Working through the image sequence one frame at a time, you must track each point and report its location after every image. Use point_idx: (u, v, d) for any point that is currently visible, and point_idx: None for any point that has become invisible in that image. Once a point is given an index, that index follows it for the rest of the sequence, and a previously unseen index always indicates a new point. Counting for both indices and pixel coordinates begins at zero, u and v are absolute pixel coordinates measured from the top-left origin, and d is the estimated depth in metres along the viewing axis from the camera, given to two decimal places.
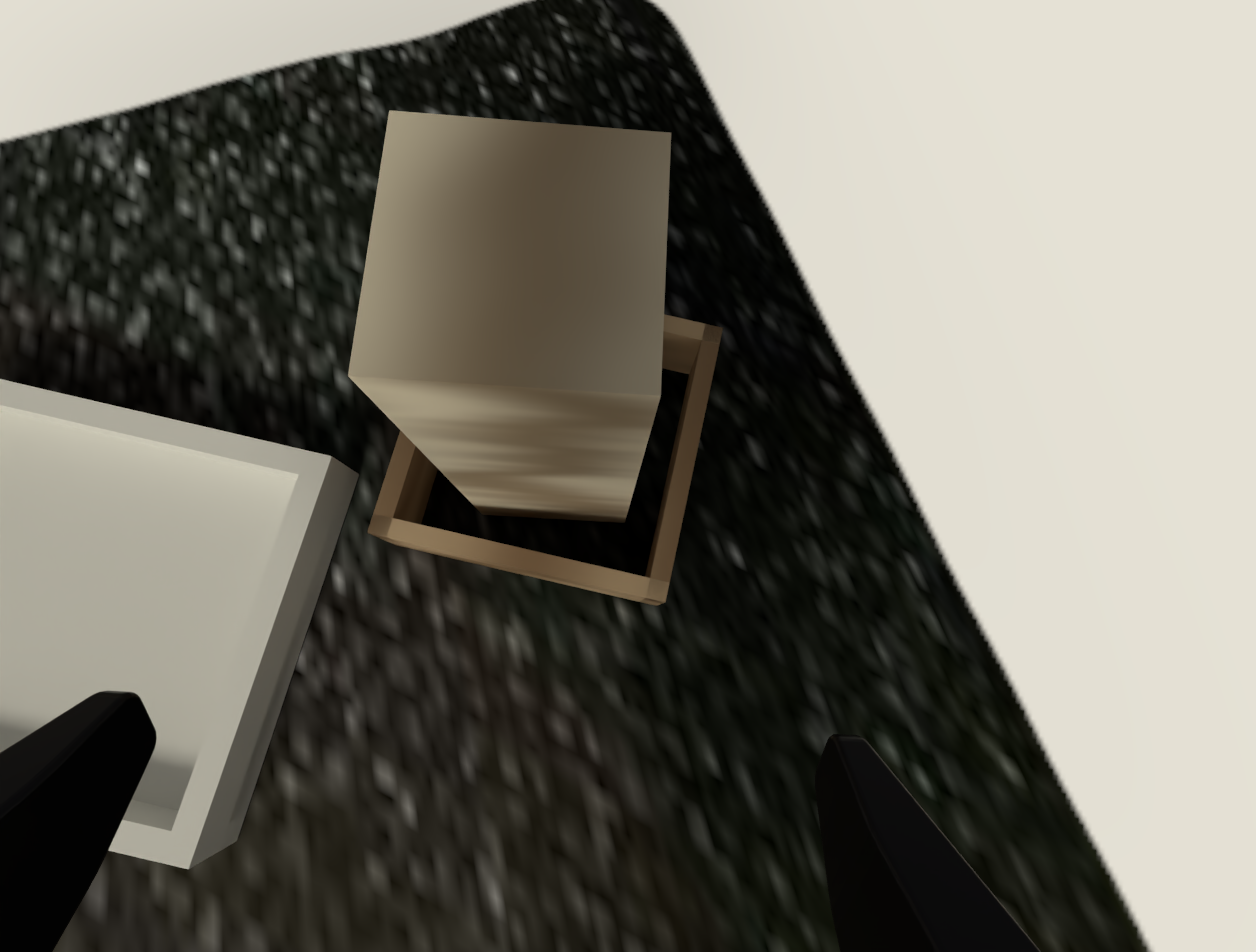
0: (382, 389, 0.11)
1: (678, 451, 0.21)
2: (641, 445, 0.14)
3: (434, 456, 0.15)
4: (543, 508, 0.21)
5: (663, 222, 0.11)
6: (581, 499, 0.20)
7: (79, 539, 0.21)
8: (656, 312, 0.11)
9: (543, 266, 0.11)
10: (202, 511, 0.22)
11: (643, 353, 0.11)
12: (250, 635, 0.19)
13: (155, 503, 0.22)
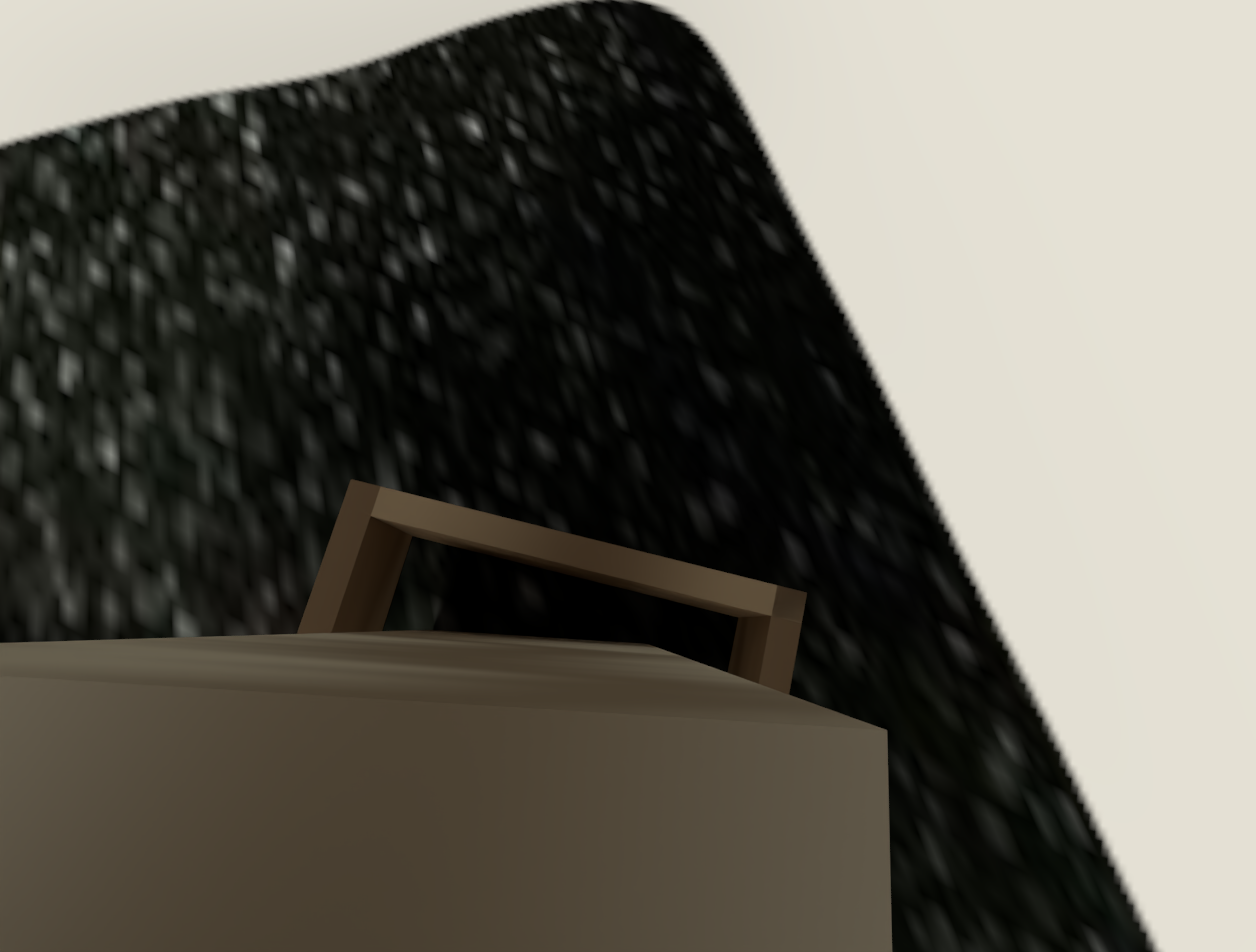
0: None
1: None
2: None
3: None
4: None
5: None
6: None
7: None
8: None
9: None
10: None
11: None
12: None
13: None
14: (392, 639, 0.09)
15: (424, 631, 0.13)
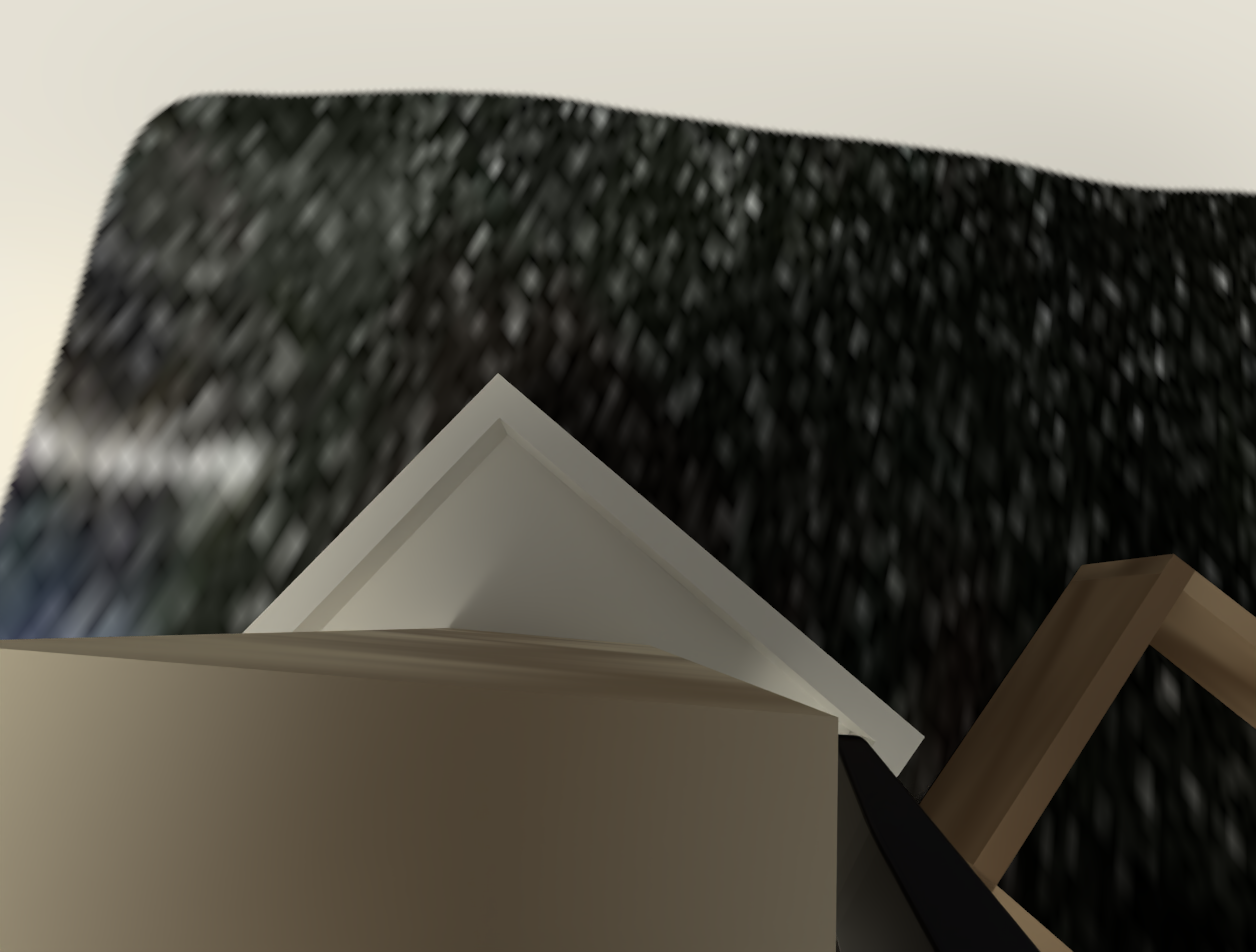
0: None
1: None
2: None
3: None
4: None
5: None
6: None
7: None
8: None
9: None
10: None
11: None
12: None
13: None
14: (422, 637, 0.09)
15: (441, 629, 0.14)
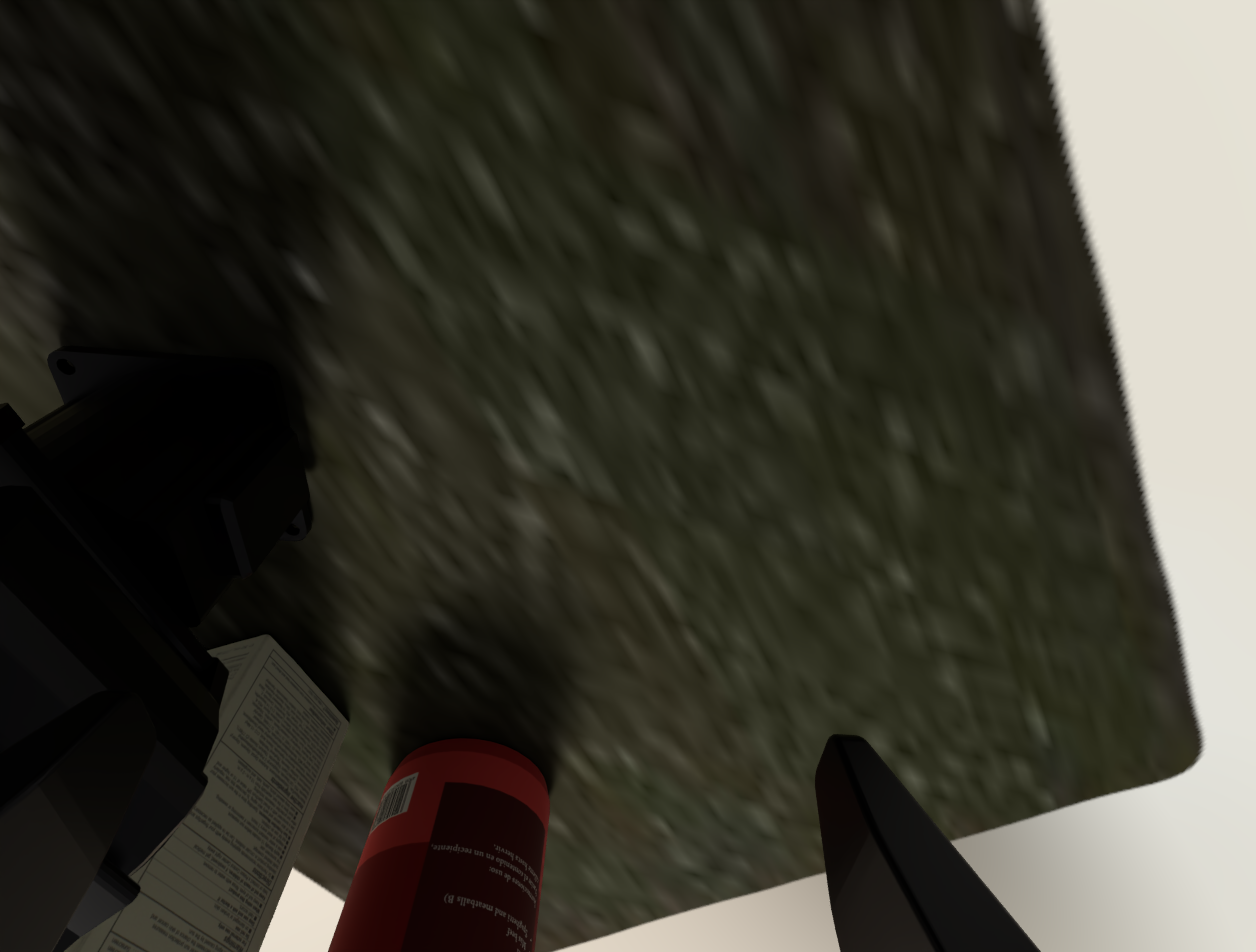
0: None
1: None
2: None
3: None
4: None
5: None
6: None
7: None
8: None
9: None
10: None
11: None
12: None
13: None
14: None
15: None
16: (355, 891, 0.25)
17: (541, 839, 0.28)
